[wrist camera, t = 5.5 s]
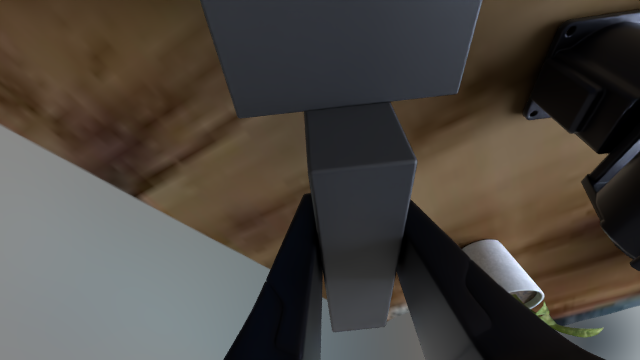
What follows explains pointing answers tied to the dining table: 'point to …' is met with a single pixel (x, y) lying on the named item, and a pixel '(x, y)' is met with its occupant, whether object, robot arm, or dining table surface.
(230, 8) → the spatula
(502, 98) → the dining table surface
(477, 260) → the house plant
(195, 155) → the dining table surface
